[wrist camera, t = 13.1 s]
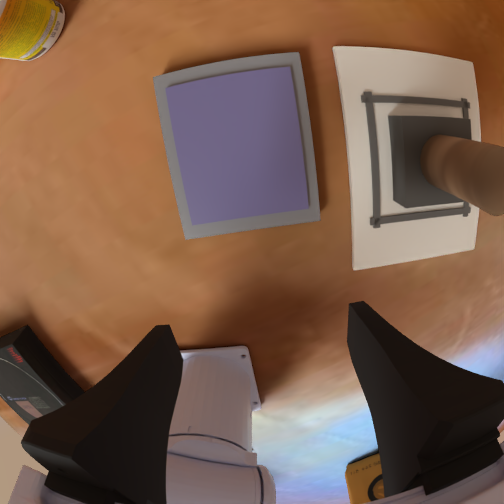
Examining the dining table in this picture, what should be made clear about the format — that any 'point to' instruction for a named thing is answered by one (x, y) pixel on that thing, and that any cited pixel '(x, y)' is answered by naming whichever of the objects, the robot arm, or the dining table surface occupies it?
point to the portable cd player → (32, 376)
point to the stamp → (444, 164)
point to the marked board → (379, 150)
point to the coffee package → (365, 480)
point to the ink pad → (239, 144)
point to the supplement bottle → (29, 27)
